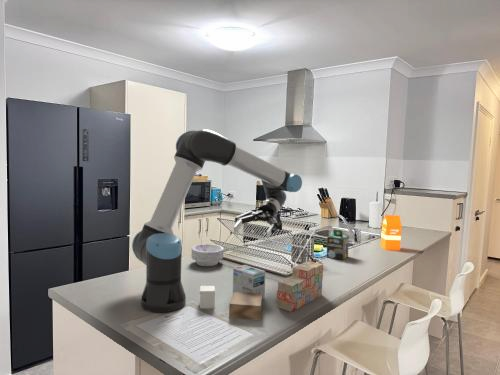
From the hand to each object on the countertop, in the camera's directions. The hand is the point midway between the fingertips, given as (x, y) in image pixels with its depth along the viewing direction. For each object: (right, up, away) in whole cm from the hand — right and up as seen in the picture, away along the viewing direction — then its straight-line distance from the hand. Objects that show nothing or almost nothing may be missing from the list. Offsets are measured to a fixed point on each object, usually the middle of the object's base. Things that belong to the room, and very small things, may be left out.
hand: (250, 232), depth 138 cm
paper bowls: (-21, -19, +34) cm, 45 cm away
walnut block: (-2, -25, -18) cm, 31 cm away
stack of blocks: (+18, -24, -7) cm, 31 cm away
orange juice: (+84, -19, +77) cm, 115 cm away
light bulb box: (-1, -23, -5) cm, 24 cm away
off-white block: (-15, -23, -14) cm, 31 cm away
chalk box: (+46, -20, +54) cm, 74 cm away
